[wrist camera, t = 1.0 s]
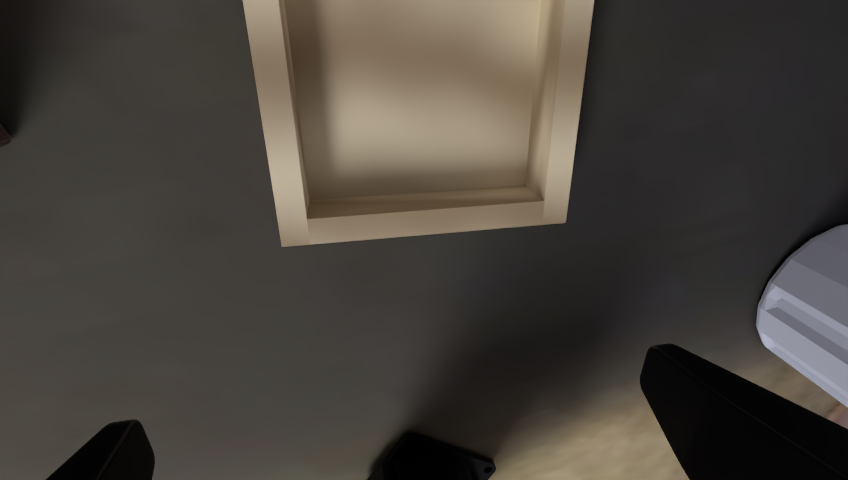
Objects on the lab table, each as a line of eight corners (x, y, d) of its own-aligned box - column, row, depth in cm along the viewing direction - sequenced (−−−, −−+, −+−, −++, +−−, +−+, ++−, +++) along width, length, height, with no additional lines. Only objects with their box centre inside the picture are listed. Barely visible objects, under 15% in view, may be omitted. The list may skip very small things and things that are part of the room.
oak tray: (536, 197, 21) (565, 223, 18) (288, 216, 19) (281, 246, 17) (564, -93, 16) (609, -117, 14) (242, -103, 15) (221, -132, 12)
